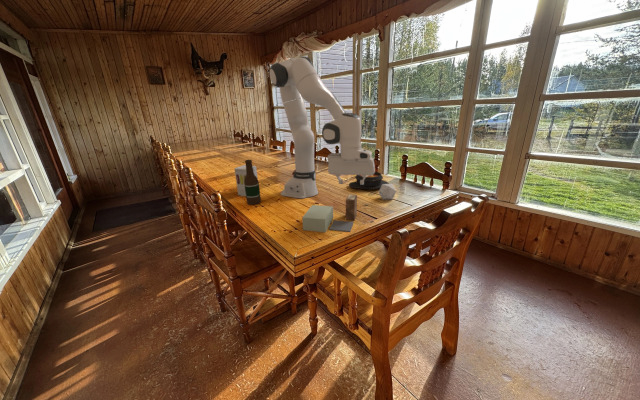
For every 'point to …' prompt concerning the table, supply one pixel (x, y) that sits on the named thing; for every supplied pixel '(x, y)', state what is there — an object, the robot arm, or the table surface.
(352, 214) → the walnut block
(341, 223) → the mat
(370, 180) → the casserole
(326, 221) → the step
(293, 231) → the table surface
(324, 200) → the table surface
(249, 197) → the beer bottle
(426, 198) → the table surface
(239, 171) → the supplement box
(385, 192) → the die
